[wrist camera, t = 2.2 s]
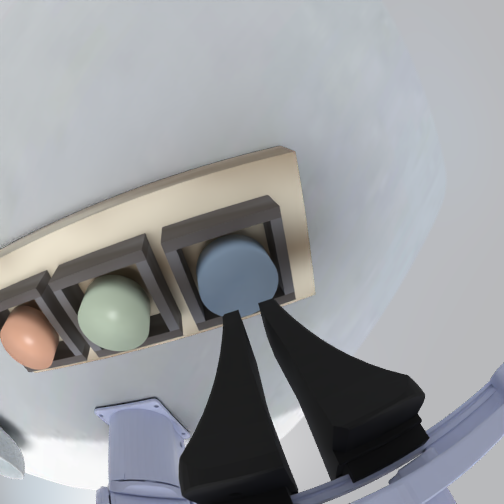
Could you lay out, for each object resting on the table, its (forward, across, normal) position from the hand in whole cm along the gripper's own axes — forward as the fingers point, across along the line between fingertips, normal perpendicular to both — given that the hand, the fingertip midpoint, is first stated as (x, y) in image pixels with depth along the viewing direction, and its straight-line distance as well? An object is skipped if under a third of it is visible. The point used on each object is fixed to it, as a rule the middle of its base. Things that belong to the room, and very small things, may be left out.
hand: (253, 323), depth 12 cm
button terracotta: (+5, +14, 0) cm, 15 cm away
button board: (+8, +7, 0) cm, 11 cm away
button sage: (+5, +7, 0) cm, 8 cm away
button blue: (+5, 0, 0) cm, 5 cm away
